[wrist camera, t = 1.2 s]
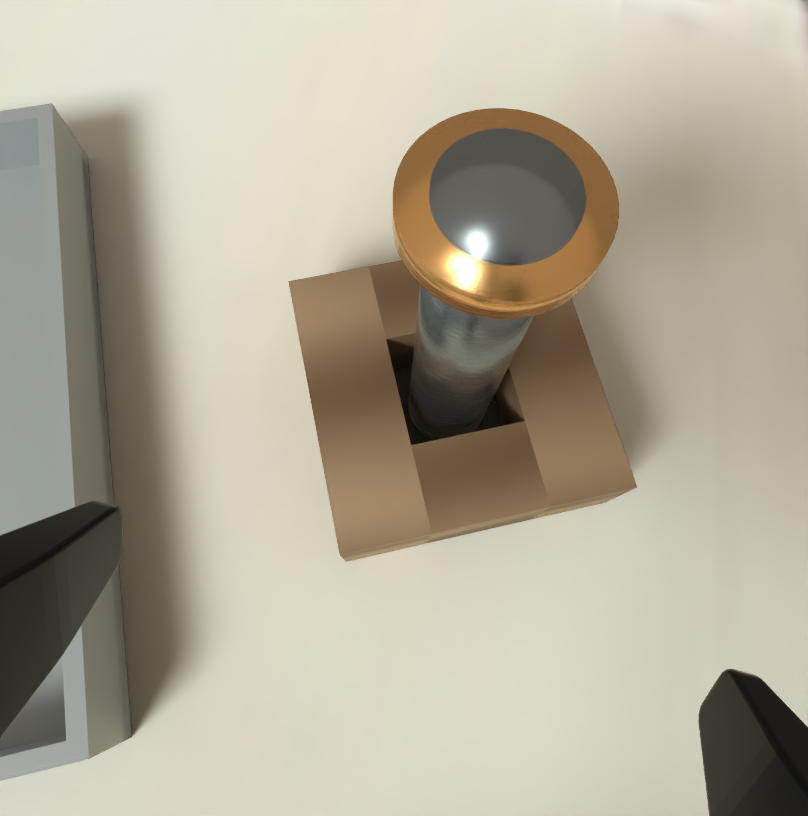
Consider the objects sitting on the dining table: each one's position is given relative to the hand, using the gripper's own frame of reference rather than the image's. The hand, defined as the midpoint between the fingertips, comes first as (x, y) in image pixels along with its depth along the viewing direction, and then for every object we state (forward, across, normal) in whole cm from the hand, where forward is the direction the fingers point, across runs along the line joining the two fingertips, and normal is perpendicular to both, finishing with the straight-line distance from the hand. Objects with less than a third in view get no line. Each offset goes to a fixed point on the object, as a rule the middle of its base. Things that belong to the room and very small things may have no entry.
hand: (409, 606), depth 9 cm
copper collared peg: (+15, 0, +4) cm, 15 cm away
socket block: (+15, 0, +4) cm, 15 cm away
